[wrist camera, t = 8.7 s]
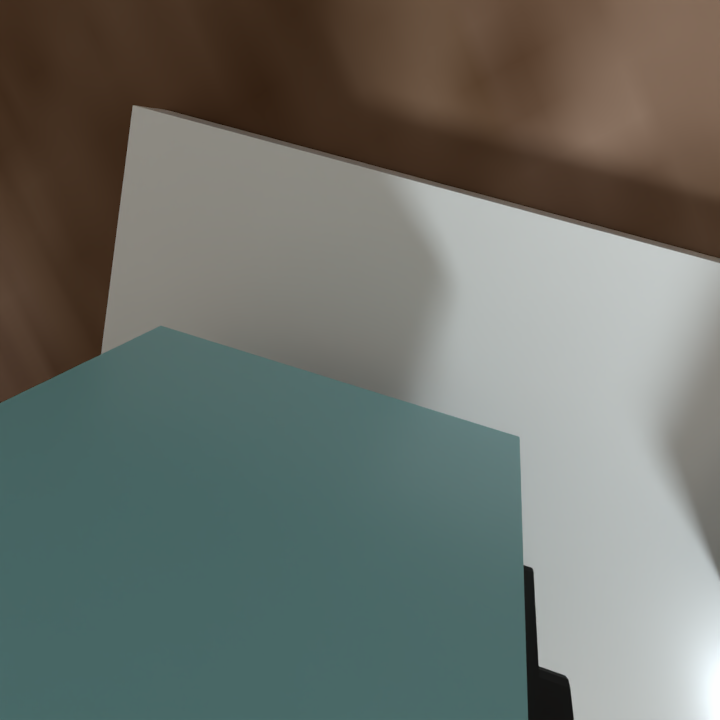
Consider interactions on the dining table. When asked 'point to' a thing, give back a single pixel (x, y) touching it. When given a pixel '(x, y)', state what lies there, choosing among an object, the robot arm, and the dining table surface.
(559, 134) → the dining table surface
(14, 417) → the teal rectangular block
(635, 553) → the board
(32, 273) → the dining table surface
